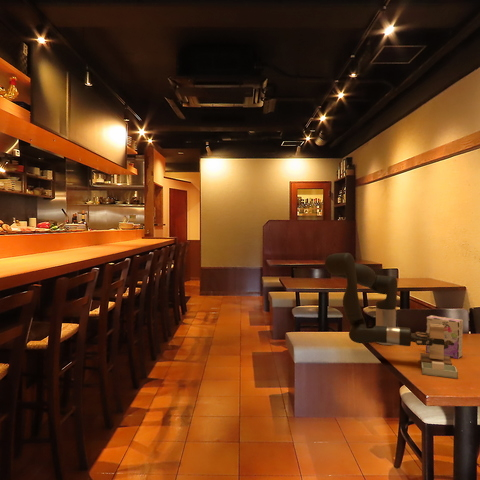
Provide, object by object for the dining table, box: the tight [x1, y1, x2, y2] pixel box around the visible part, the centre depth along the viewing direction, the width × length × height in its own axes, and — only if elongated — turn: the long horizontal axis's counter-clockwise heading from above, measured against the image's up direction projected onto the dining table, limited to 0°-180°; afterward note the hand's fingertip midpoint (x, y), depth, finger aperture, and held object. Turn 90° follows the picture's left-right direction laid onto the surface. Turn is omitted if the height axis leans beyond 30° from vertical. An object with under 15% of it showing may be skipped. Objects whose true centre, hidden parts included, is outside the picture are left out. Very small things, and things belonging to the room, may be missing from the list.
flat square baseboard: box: [420, 352, 453, 369], centre depth 163 cm, size 11×11×3 cm
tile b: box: [432, 361, 444, 370], centre depth 152 cm, size 4×4×2 cm
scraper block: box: [428, 324, 444, 360], centre depth 162 cm, size 5×5×13 cm
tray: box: [421, 362, 459, 379], centre depth 154 cm, size 8×12×2 cm, turn 68°
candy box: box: [425, 315, 464, 360], centre depth 179 cm, size 14×6×16 cm, turn 44°
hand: (443, 340), depth 161 cm, fingers closed on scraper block, 5 cm apart
